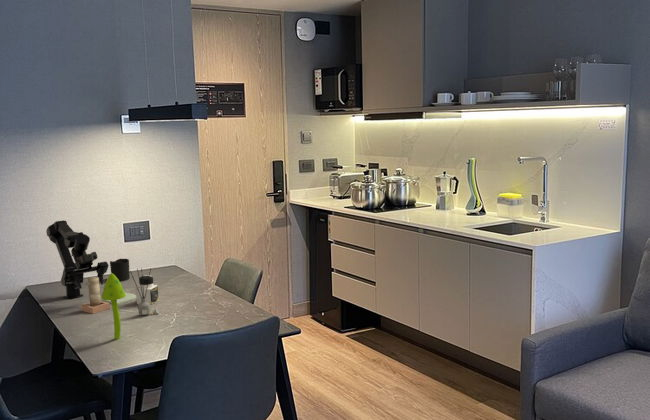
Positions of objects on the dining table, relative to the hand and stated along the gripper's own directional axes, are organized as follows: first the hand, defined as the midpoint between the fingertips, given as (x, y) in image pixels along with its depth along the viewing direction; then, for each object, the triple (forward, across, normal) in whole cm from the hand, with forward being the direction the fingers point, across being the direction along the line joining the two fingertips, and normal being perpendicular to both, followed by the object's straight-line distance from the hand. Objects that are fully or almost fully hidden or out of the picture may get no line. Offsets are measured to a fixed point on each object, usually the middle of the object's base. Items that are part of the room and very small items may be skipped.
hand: (91, 286), depth 271 cm
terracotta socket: (+9, 0, +5) cm, 10 cm away
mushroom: (+40, -8, -25) cm, 47 cm away
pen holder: (-23, +29, +37) cm, 52 cm away
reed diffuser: (+25, +13, -10) cm, 30 cm away
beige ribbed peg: (+9, 0, +5) cm, 10 cm away
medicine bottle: (+13, +21, +1) cm, 25 cm away
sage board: (+3, +15, +11) cm, 18 cm away
